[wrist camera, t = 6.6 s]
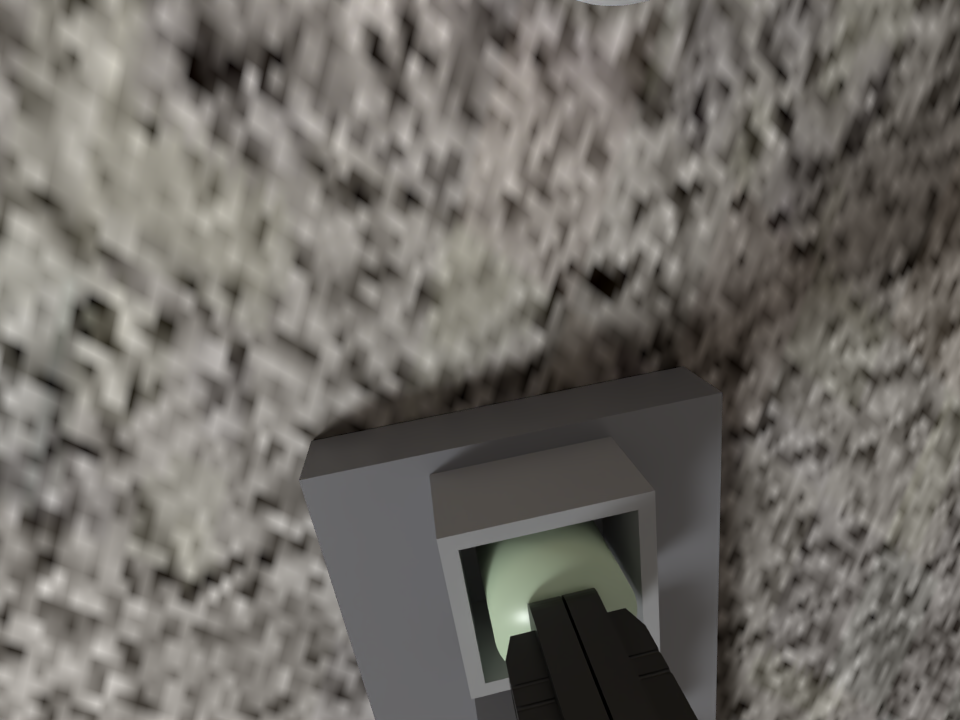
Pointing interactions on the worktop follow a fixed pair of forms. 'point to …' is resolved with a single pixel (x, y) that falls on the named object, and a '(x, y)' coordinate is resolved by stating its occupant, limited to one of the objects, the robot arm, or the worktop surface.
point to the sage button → (548, 575)
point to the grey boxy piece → (519, 530)
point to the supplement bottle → (612, 2)
